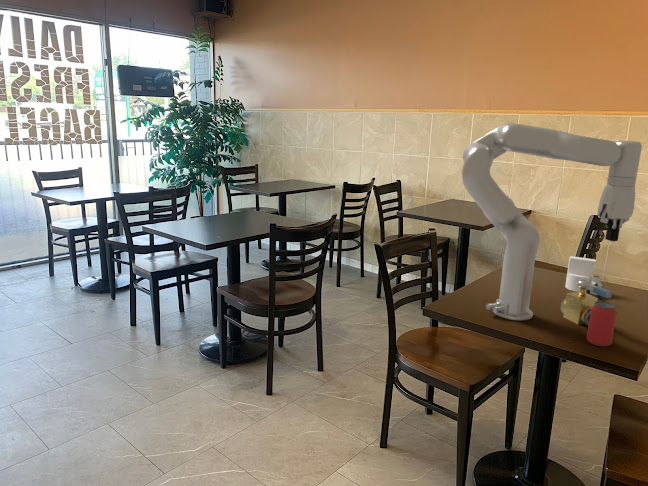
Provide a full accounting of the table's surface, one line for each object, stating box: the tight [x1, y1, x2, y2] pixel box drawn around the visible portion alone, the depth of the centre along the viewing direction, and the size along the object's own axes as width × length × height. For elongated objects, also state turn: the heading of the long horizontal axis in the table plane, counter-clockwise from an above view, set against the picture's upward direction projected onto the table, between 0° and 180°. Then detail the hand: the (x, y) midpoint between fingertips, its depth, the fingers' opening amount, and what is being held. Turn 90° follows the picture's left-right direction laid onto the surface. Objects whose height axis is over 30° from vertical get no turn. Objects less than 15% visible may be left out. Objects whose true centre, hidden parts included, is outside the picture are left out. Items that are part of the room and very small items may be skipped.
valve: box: [586, 274, 604, 301], centre depth 188 cm, size 7×7×12 cm
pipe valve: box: [560, 287, 599, 326], centre depth 165 cm, size 12×6×11 cm, turn 18°
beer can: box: [586, 300, 617, 347], centre depth 148 cm, size 7×7×12 cm
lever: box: [577, 280, 613, 299], centre depth 159 cm, size 12×4×2 cm, turn 17°
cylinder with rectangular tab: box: [564, 255, 597, 292], centre depth 195 cm, size 9×9×12 cm
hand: (611, 240), depth 160 cm, fingers closed
